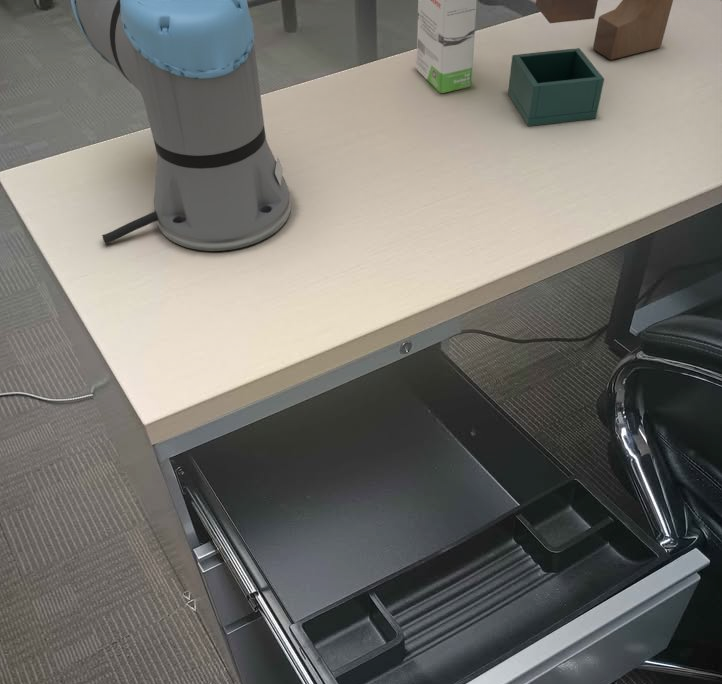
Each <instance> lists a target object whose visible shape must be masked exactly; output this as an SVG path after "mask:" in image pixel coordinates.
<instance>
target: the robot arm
mask: <svg viewBox="0 0 722 684" xmlns="http://www.w3.org/2000/svg"><path fill="white" fill-rule="evenodd" d="M70 5H71V8H72V12H73V15H74V17H75V20H76V22H77V25H78V27H79V28H80V30H81V32H82V33H83V35H84V36H85V37H86V40H87V42H88V43H89V44H90V46H91V47H92V49H94V51H95V52H96V53H98V54H99V55H100V56H101V58H102V59H103V60H104V61H106V62H107V63H108V64H110V65H111V66H113V67H114V68H115V69H116V70H117V71H118V72H119V73H120V74H121V75H122V76H123V77H124V78H125V79H126V80H127V81H128V82H129V83H130V84H132V85H133V87H134V88H135V89H136V90H138V92H139V93H140V95H141V97H142V101H143V103H144V107H145V112H146V115H147V119H148V123H149V128H150V132H151V135H152V138H153V143H154V147H155V151H156V167H155V181H154V193H153V210H154V211H153V212H150V213H148V214H145V215H144V216H141V217H138V218H137V219H135V220H133V221H130V222H128V223H125V224H124V225H122V226H120V227H118V228H115V229H114V230H112V231H109V232H108V233H104V234H102V235H101V236H102V239H103V242H104V244H110V243H112V242H115V241H116V240H119V239H120V238H123V237H125V236H126V235H128V234H131V233H133V232H135V231H137V230H139V229H141V228H144V227H146V226H148V225H150V224H152V223H153V224H154V222H156V223H157V227H158V228H159V230H160V231H161V233H162V235H164V237H166V238H167V240H170V241H171V242H173V243H175V244H176V245H178V246H181V247H184V248H187V249H191V250H197V251H206V252H222V251H229V250H230V251H231V250H237V249H241V248H246V247H249V246H252V245H255V244H258V243H259V242H262V241H263V240H266V239H268V238H269V237H270V236H272V235H274V234H275V233H277V232H278V231H279V230H280V229H281V228H282V227H283V226H284V225H285V223H286V222H287V221H288V219H289V216H290V214H291V210H292V209H291V208H292V205H291V196H290V195H291V194H290V191H289V187H288V183H287V181H286V179H285V177H284V175H283V173H284V172H283V171H284V168H283V165H282V163H281V161H280V159H279V156H277V157H276V158H275V156H274V154H273V151H272V150H271V147H270V146H269V144H268V140H267V136H266V135H267V134H266V129H265V122H264V113H263V112H264V111H263V104H262V96H261V89H260V80H259V72H258V71H259V70H258V63H257V54H256V46H255V29H254V22H253V19H252V17H251V13H250V9H249V5H248V0H70Z"/></svg>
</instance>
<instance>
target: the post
mask: <svg viewBox="0 0 722 684" xmlns="http://www.w3.org/2000/svg"><path fill="white" fill-rule="evenodd" d="M598 2H599V0H535V7H536V8H537V9H538V10H539V12H540V13H541V14H542V16H543V17H544V18H545V19H546V21H547V22H548V23H549V24H557V23H558V24H559V23H566V22H576V21H586V20H587V21H588V20H594V19H595V17H596V13H597V9H598V8H597V7H598Z"/></svg>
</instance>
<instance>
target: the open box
mask: <svg viewBox="0 0 722 684" xmlns="http://www.w3.org/2000/svg"><path fill="white" fill-rule="evenodd" d="M510 64H511V65H510V72H509V80H508V90H507V95H508V96H509V98H510V100H511V102H512V103H513V104H514V106H515V108H516V109H517V111H518V113H519V114H520V116H521V118H522V120H523V121H524V122H525V124H526V126H527V127H533V126H544V125H551V124H552V125H553V124H559V123H569V122H575V121H576V122H577V121H587V120H595V119H597V115H598V111H599V106H600V101H601V96H602V92H603V88H604V87H603V86H604V82H605V78H604V77H603V76H602V74H601V73H600V71H599V70H598V69H597V68H596V67H595V66H594V64H593V62H591V61H590V59H589V58H588V57H587V55H586V54H585V53H584V51H582V50H581V48H580V47H577V48H576V47H575V48H567V49H555V50H549V51H547V50H546V51H537V52H528V53H520V54H519V53H518V54H512V55H511V63H510Z"/></svg>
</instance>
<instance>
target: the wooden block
mask: <svg viewBox="0 0 722 684" xmlns="http://www.w3.org/2000/svg"><path fill="white" fill-rule="evenodd" d="M673 3H674V0H621V2H620V3H619V4H618V5H617V6H616V8H614V9H612V10H610V11H607V12H606V13H603V14H601V15H599V16H598V19H597V24H596V31H595V36H594V40H593V45H592V48H593V50H594V51H596V52H597V53H599V54H600V55H602V56H603V57H605V58H606V59H608V60H610V61H612V60H616V59H621V58H624V57H627V56H628V57H629V56H633V55H636V54H640V53H645V52H647V51H652V50H657V49H660V48H661V47H662V44H663V41H664V36H665V33H666V29H667V25H668V22H669V18H670V13H671V10H672V7H673Z"/></svg>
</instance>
